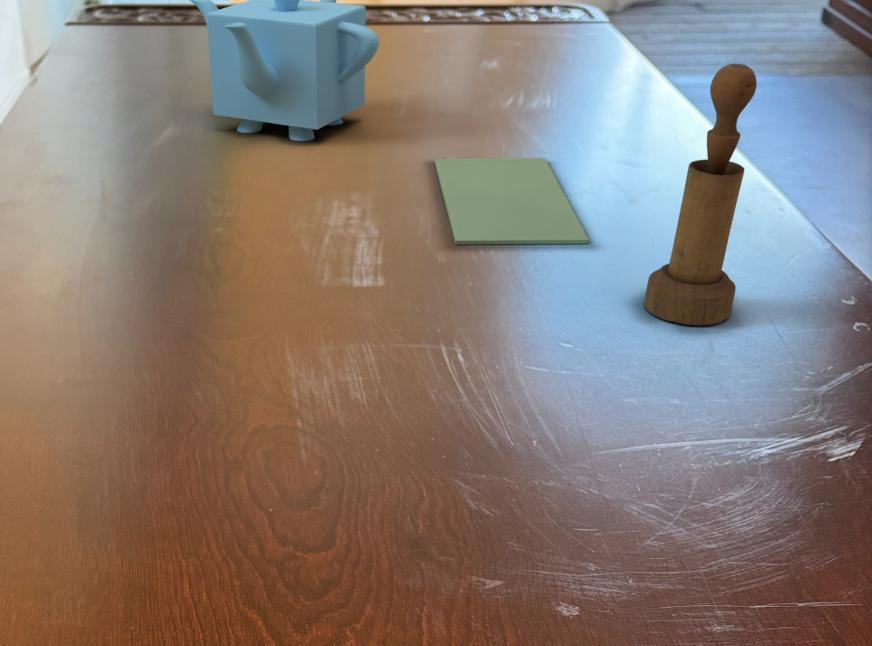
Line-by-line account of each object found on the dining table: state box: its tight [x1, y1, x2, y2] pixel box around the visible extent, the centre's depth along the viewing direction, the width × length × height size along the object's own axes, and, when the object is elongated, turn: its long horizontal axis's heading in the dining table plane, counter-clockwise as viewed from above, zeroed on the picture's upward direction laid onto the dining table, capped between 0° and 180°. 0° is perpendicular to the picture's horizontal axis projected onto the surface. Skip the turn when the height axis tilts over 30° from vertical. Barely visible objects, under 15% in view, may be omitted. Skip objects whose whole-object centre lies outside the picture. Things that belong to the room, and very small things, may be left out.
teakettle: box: [189, 0, 380, 142], centre depth 120 cm, size 19×19×15 cm
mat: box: [433, 157, 590, 246], centre depth 103 cm, size 12×24×1 cm, turn 0°
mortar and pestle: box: [643, 63, 758, 326], centre depth 77 cm, size 7×6×18 cm
